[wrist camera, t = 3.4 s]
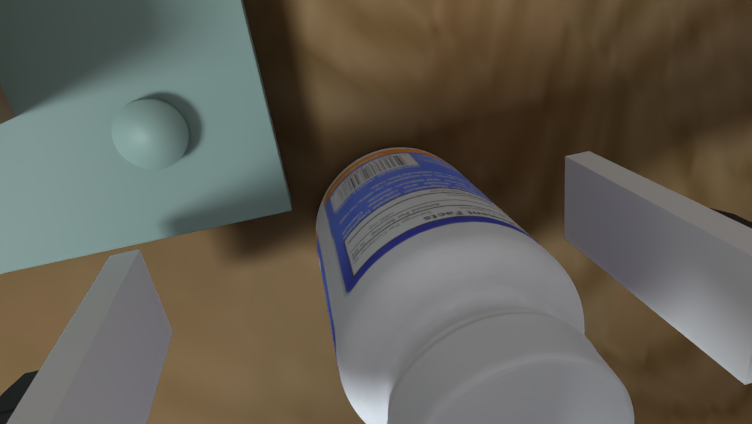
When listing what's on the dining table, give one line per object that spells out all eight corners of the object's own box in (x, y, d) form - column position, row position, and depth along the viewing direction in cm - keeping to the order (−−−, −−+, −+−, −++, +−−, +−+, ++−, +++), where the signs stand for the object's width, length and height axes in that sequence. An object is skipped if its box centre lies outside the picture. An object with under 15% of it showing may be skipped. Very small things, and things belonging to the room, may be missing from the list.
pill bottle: (444, 297, 18) (602, 568, 10) (299, 280, 17) (329, 582, 8) (490, 157, 17) (738, 337, 8) (331, 126, 15) (415, 302, 6)
